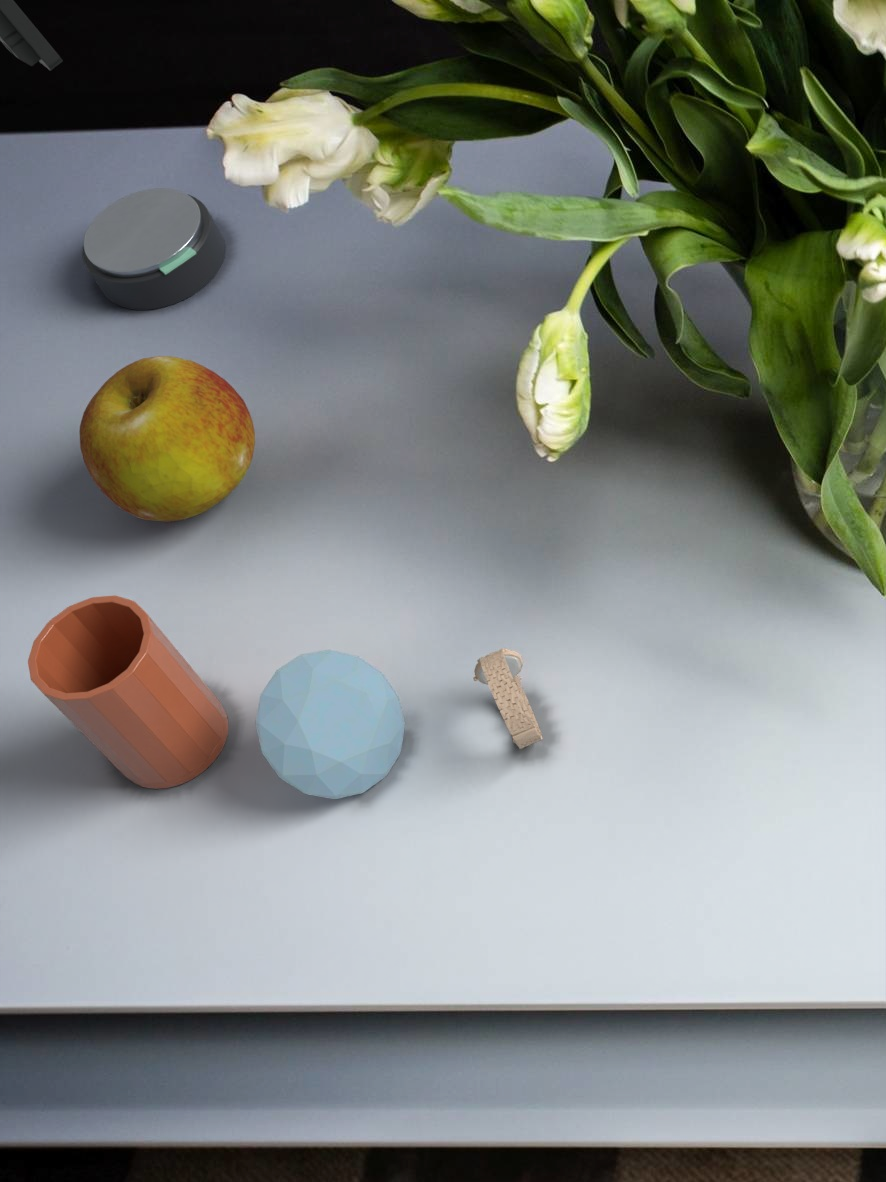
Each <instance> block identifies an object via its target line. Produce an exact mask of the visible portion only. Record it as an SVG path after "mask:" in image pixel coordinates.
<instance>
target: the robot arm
mask: <svg viewBox="0 0 886 1182" xmlns="http://www.w3.org/2000/svg"><path fill="white" fill-rule="evenodd" d="M0 42H1V43H2V45H3V46H4V47H5V48H6V49H7V50H8V51H9V52H10V53H11V54H12V55H13V56H15V58H17V59H18V60H19V61H21V62H23V63H24V64H26V65H28V66H30V67H33V66H34V65H36V64H37V63H40V64H42V65H43V66H44V67H45V68H47V69H48V71H53V69H55V68H56V67H57V66H59V65H60V64H61V63H62V62H63V61H64V60H63V59H62V57H61V56H60V54H59V53H58V52H57V51H56V50H55V49H54V48H53V46H52V44H50V43H49V41H48V40H47V39H46V38H45V37H44V35H43V34H42V33H41V32H40V31H39V30H38V28H37V27H36V26H35V25H34V23H33V22H32V21H31V19H29V17H28V16H27V15H26V14H25V12H24V11H23V10H22V9H21V7H19V5H18V4H17V3H16V1H15V0H0Z"/></svg>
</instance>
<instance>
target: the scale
mask: <svg viewBox="0 0 886 1182" xmlns="http://www.w3.org/2000/svg"><path fill="white" fill-rule="evenodd" d="M225 241H226V240H225V238H224V236H223V234H222V232H221V231H220V229H219V227H218V225H217V223H216V221H215V219H214V218H213V216H212V215H211V212H210V211H209V209H208V207H207V206H206V205H205V204H204V202H202V201H201V200H200V199H198V198H197V197H195V196H193V195H191V194H188V193H185V192H183V191H181V190H177V189H173V188H166V187H165V188H163V187H161V188H148V189H144V190H139V191H137V192H133V193H130V194H128V195H126V196H123V197H121V198H119V199H118V200H116V201H114V202H112V203H111V204H109V205H108V206H106V207H105V208H104V209H103V210H102V211H101V212H99V214H97V216H96V217H95V218H94V219H93V220H92V221H91V223H90V224H89V226H88V228H87V230H86V232H85V236H84V238H83V245H82V251H81V252H82V261H83V263H84V266H85V267H86V269H87V271H88V272H89V273H90V275H91V277H92V278H93V281H95V283H96V284H97V286H98V287H99V289H100V290H101V292H102V293H103V295H104V296H105V297H106V298H107V299H108V300H109V301H110V302H112V303H113V304H115V305H117V306H119V307H122V308H124V309H128V310H130V309H131V310H134V311H135V310H136V311H137V310H139V311H147V310H149V311H150V310H155V309H156V310H157V309H160V308H165V307H169V306H172V305H175V304H178V303H180V302H182V301H184V300H186V299H188V298H191V297H192V296H193V295H195V294H196V293H198V292H200V291H201V290H202V289H203V288H205V287H206V286H207V285H208V284H209V283H210V282H212V280H213V279H214V278H215V276H216V275H217V274H218V272H219V271H220V269H221V268H222V266H223V264H224V261H225V258H226V250H227V249H226V242H225Z"/></svg>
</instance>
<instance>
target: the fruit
mask: <svg viewBox="0 0 886 1182" xmlns="http://www.w3.org/2000/svg"><path fill="white" fill-rule="evenodd" d="M255 445H256V433H255V427H254V421H253V418H252V415H251V413H250V410H249V408H248V407H247V404H246V402H245V400H244V398H242V396H241V395H240V393H238V392H237V390H236V389H235V388H234V387H233V386H232V385H231V384H230V383H229V382H228V381H227V380H226V379H225V378H223V377H222V376H220V375H219V374H218V373H216V372H215V371H213V370H211V369H209V368H208V367H206V366H204V365H202V364H201V363H197V362H196V361H193V360H190V359H184V358H180V357H175V356H168V355H167V356H163V355H157V356H150V357H143V358H141V359H138V360H136V361H134V362H132V363H129V364H127V365H125V366H124V367H122V368H121V369H119V370H118V371H116V372H115V373H114V374H113V375H112V376H110V378H109V379H106V381H105V382H104V383H103V384H102V385H101V386H100V388H99V389H98V390H97V392H95V394H94V395H93V396H92V398H91V399H90V401H89V403H88V404H87V406H86V407H85V409H84V411H83V414H82V417H81V420H80V425H79V448H80V451H81V457H82V460H83V462H84V464H85V467H86V469H87V471H88V473H89V475H90V477H91V479H92V480H93V482H94V483H95V484H96V486H97V488H98V489H99V490H100V492H101V493H102V494H103V495H104V496H105V497H106V498H108V499H109V501H111V503H113V504H114V505H115V506H116V507H118V508H119V509H121V510H122V511H124V512H126V513H128V514H130V515H132V516H134V517H135V518H138V519H142V520H144V521H153V522H154V521H155V522H156V521H157V522H166V523H167V522H168V523H169V522H177V521H182V520H183V521H184V520H187V519H190V518H193V517H196V516H199V515H201V514H203V513H205V512H207V511H208V510H210V509H211V508H213V507H214V506H216V505H217V504H219V503H220V502H222V501H224V500H225V499H226V498H227V497H228V496H229V495H230V494H231V493H232V492H233V491H235V489H236V488H237V487H238V486H239V484H240V483H241V482H242V480H243V479H244V477H245V476H246V474H247V472H248V470H249V468H250V466H251V463H252V460H253V458H254V457H253V456H254V453H255Z"/></svg>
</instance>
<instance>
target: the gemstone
mask: <svg viewBox="0 0 886 1182" xmlns="http://www.w3.org/2000/svg"><path fill="white" fill-rule="evenodd" d="M405 727H406V722H405V717H404V714H403V709H402V704H401V700H400V697H399V695H398V693H397V692H396V691H395V689H394V688H393V686H392V685H391V683H390V682H389V680H388V679H387V677H386V676H385V674H384V673H383V672H382V671H381V670H379V669H378V668H376V667H375V666H374V665H372V664H371V663H369V662H368V661H366V660H365V659H363V658H362V657H360V656H358V655H356V654H350V653H347V652H342V651H337V650H334V649H326V650H319V651H313V652H307V653H302V654H299V655H298V656H296V657H295V658H293V659H292V660H290V661H288V662H287V663H285V664H284V665H282V666H281V667H279V668H278V669H276V670H275V672H274V673H273V675H272V676H271V677H270V679H269V680H268V681H267V684H266V685H265V687H264V688H263V690H262V691H261V693H260V694H259V701H258V706H257V711H256V717H255V729H256V732H257V737H258V741H259V745H260V750H261V753H262V755H263V756H264V757H265V759H266V761H267V762H268V763H269V765H270V766H271V768H272V769H273V771H274V772H275V774H276V775H277V776H278V778H279V779H281V780H283V781H284V782H285V783H287V784H289V785H290V786H292V787H293V788H295V789H297V790H299V791H300V792H302V793H303V794H304V795H310V796H315V797H319V798H320V797H321V798H326V799H331V800H337V799H343V798H347V797H350V796H355V795H360V794H364V793H365V792H367V791H368V790H369V789H371V788H372V787H373V786H375V785H376V784H378V783H379V782H380V781H382V780H383V779H385V778H386V777H387V776H388V774H389V772H390V771H391V769H392V768H393V766H394V764H395V763H396V761H397V759H398V758H399V756H400V755H401V753H402V747H403V741H404V735H405Z"/></svg>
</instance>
